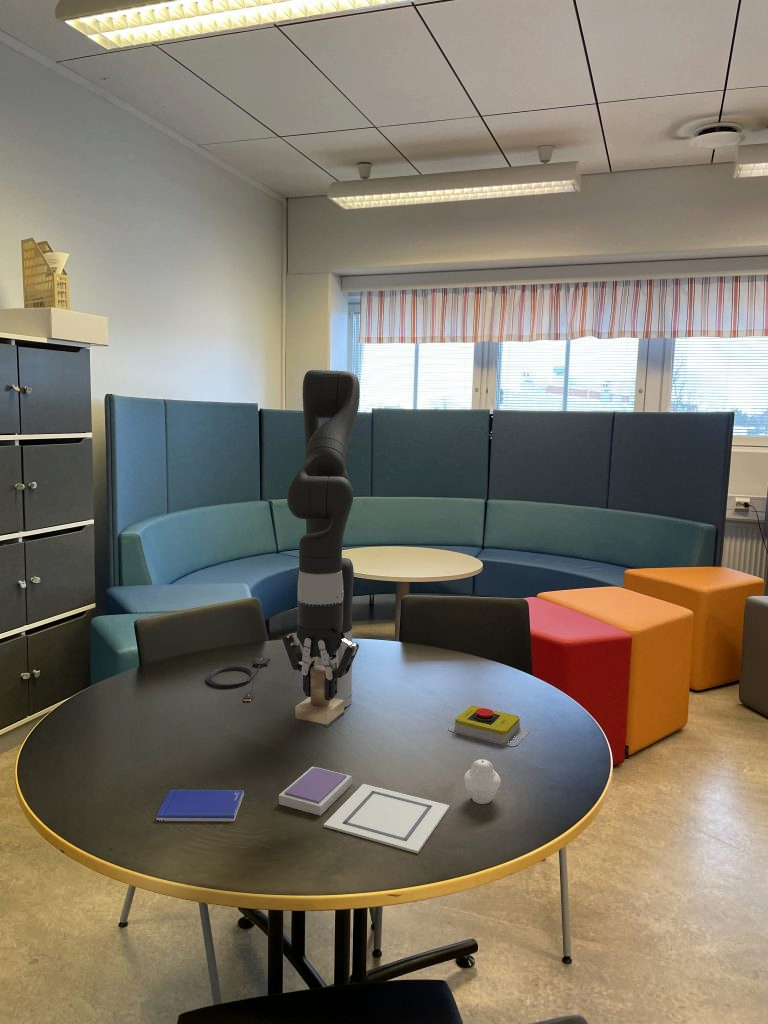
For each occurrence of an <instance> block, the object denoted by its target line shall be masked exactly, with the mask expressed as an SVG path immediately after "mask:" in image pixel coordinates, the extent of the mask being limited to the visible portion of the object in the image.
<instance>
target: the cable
mask: <svg viewBox="0 0 768 1024" xmlns="http://www.w3.org/2000/svg"><path fill="white" fill-rule="evenodd" d="M270 663H271V657H254V662H252V667H255V668H256V670H255V671H254V672H253V671H252V669H249V668H248V667H245V666H237V665H235V666H226V667H220V668H218V669H215V670H214V671H212V672H210V673H209V674H207V676H206V682H207V683H208V684H209V685H211V686H212V685H213V686H212V687H214V686H216V688H218V687H222V688H221V689H232V688H233V687H235V688H238V687H239V686H240V687H243V686H245V685H247V684H250V683H251V682H252V681H253V680H254V678H255V676H256V674H257V672H259V669H260V668H264V667H265V668H266V667H267V668H268V665H269V664H270ZM229 671H230V672H233V671H237V672H238V671H239V672H245V673H246V674H248V675H249V677H248V678H246V679H245V680H243V681H239V682H237V683H236V682H234V683H218V682H216V681H213V680H212V679H213V678H214V677H215V676H216V675H217V674H218V675H219V674H220V673H224V672H229ZM254 684H255V683H254V682H252V687H251V689H250V690H249V691H250V692H247V693H246V694H245V695H244V697H243V700H242V703H251V702H252V701H253V700H254V699H253V698H254V692H253V689H254V686H255V685H254ZM233 689H234V688H233ZM251 700H252V701H251ZM245 701H247V702H245Z"/></svg>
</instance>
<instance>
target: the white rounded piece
mask: <svg viewBox="0 0 768 1024" xmlns="http://www.w3.org/2000/svg"><path fill="white" fill-rule="evenodd" d="M463 781H464V783H465V787H466V790H467V791H468V794H469V796H470V797H471V800H472V801H473V802H475V803H477V804H481V805H486V804H489V803H491V802H492V800H493V799H494V797H495V795H496V794H497V792H498V790H499V787H500V786H501V783H502V782H501V777H500V775H499V774H498V772H497V771H495V769H494V766H493V764H492V763H491V761H489V760H487V759H483V758H482V759H477V760H475V761H473V762H472V764H471V768H470V769H468V770H467V771H466V772H465V774H464V776H463Z"/></svg>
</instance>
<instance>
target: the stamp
mask: <svg viewBox="0 0 768 1024" xmlns="http://www.w3.org/2000/svg"><path fill="white" fill-rule="evenodd" d="M325 679H327V678H326V673H325V667H324V666H314V667H312V668H311V697H309V698H307V697H306V698H305V699H304V700H303V701H301V702H299V704H297V705H295V707H294V708H295V709H294V710H295V713H294V714H295V721H294V722H296V723H301V724H306V725H311V726H314V727H321V728H326V729H329V727H331V726H332V725H334V723H336V722H337V721H338V720H339V719H340V718H342V717H343V716H344V715H345V708H344V700H341V699H336V698H333V699H332V700H330V701H327V700H325Z"/></svg>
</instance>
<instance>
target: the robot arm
mask: <svg viewBox="0 0 768 1024" xmlns="http://www.w3.org/2000/svg"><path fill="white" fill-rule="evenodd" d="M360 396H361V391H360V381H359V378H358V376H357V374H355V373H354V372H352V371H346V370H329V369H328V370H327V369H326V370H325V369H323V370H322V369H310V370H308V371H307V372H305V375H304V377H303V381H302V410H303V413H302V414H303V424H304V440H305V458H304V463H303V464H302V466H301V467H300V469H299V470H298V472H297V473H296V474H295V475H294V477H293V479H292V480H291V482H290V484H289V488H288V492H287V499H286V501H287V507H288V509H289V511H290V513H291V514H292V515H293V516H294V517H295V518H297V519H301V520H305V529H306V531H305V533H306V534H305V535H303V536H302V537H301V538H300V539H299V545H298V563H299V564H298V567H299V568H298V569H299V570H298V578H297V579H298V580H297V624H298V629H297V630H296V632H295V633H294V632H291V633H288V634H287V635H285V636H283V637H282V642H283V645H284V648H285V650H286V653H287V656H288V658H289V662H290V664H291V667H292V670H293V671H298V672H301V674H302V690H303V691H302V692H303V693H304V695H305V697H306V699H307V698H309V697H311V668H312V667H314V666H324V667H325V673H326V678H327V679H325V700H327V701H330V700H332V699H333V698H336V699H341V700H344V709H345V708H347V707H349V706H350V705H351V704H352V700H353V698H352V697H353V689H352V688H353V686H352V685H353V662H354V659H355V658H356V655H357V653H358V650H359V648H360V645H359V643H358V642H353V596H354V583H355V582H354V579H355V573H354V572H355V571H354V565H353V561H352V560H351V559H350V558H349V557H348V558H347V557H343V541H344V540H343V539H344V535H345V530H346V526H347V523H348V520H349V519H348V518H349V515H350V512H351V509H352V505H353V502H354V489H353V486H352V484H351V482H350V477H349V473H348V472H347V469H346V463H347V450H348V445H349V441H350V438H351V435H352V432H353V429H354V427H355V422H356V420H357V416H358V411H359V407H360V398H361V397H360ZM322 418H323V419H329V420H327V421H326V422H324V423H323V424H322V422H321V421H322V420H321V419H322ZM300 644H301V645H300ZM301 646H302V648H303V651H302V648H301Z"/></svg>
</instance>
